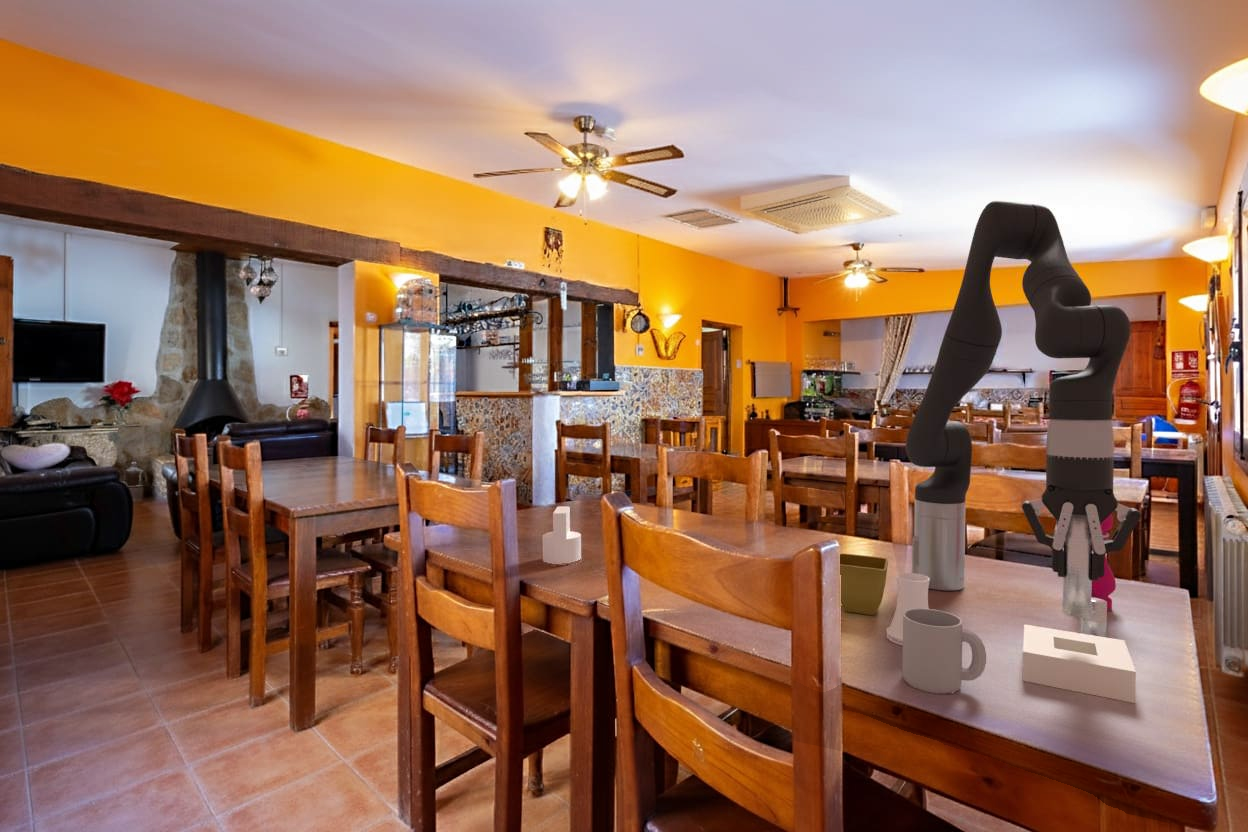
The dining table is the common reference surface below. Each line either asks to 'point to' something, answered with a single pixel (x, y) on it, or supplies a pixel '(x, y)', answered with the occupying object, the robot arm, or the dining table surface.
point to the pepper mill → (1105, 572)
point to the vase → (907, 601)
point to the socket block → (1078, 663)
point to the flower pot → (862, 582)
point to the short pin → (1095, 619)
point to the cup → (938, 651)
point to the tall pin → (1077, 568)
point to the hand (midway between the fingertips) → (1077, 577)
